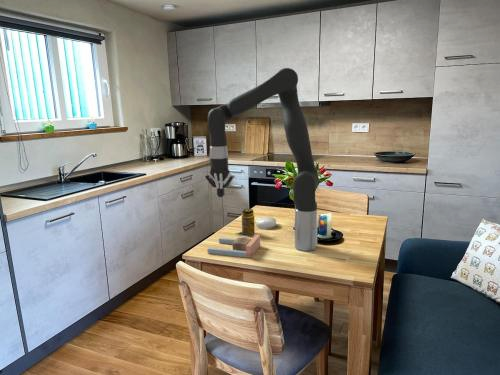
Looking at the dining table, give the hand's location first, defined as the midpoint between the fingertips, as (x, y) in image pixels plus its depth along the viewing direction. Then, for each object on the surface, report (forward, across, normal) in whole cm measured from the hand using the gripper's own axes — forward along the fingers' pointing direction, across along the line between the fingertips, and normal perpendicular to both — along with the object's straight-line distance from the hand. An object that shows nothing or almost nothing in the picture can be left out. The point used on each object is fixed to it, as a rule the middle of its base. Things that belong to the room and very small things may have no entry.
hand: (220, 196), depth 160 cm
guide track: (+22, -6, +2) cm, 23 cm away
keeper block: (+23, -9, +1) cm, 25 cm away
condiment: (+23, -6, -18) cm, 29 cm away
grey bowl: (+23, -12, -32) cm, 41 cm away
